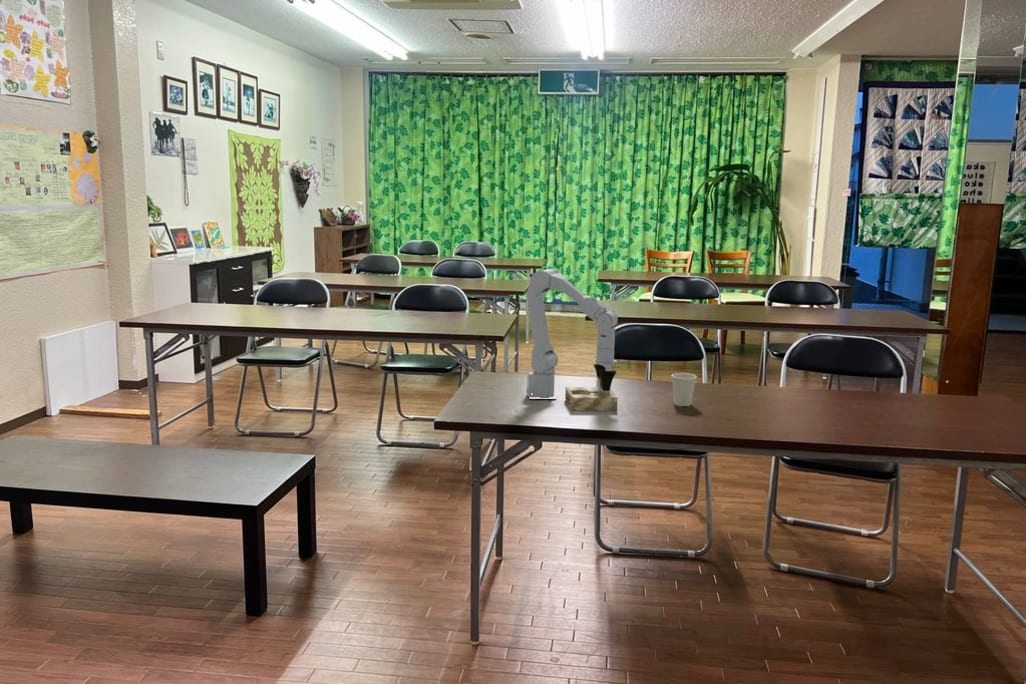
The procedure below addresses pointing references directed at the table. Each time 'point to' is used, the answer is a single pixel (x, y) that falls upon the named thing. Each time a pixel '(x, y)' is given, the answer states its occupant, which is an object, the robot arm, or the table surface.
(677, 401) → the dixie cup
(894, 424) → the table surface
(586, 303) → the robot arm
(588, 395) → the keyhole plate
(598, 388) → the headed peg
